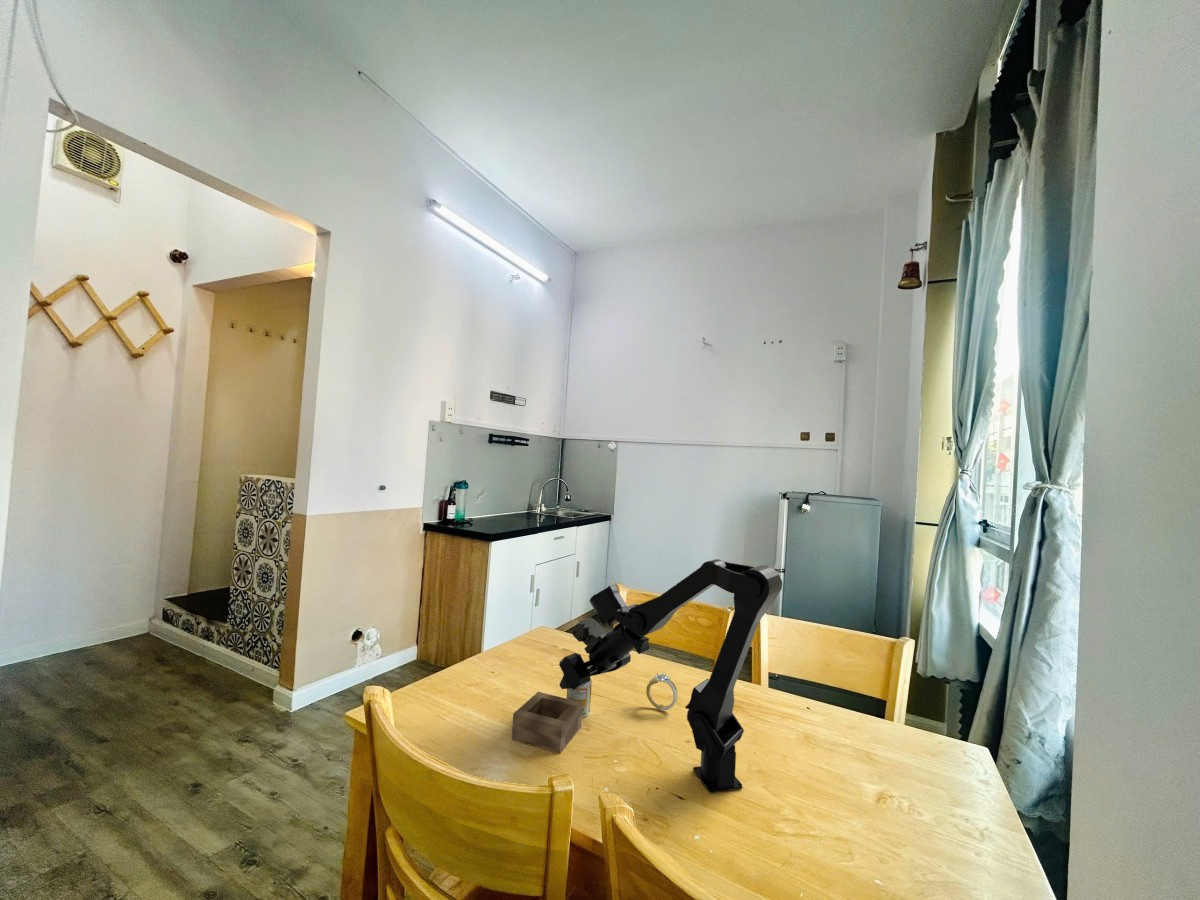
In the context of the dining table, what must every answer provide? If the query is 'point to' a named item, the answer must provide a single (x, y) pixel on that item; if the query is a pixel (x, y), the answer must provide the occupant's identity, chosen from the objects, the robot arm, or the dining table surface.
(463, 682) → the dining table surface
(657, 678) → the diamond engagement ring
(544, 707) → the walnut well block
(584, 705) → the supplement bottle
